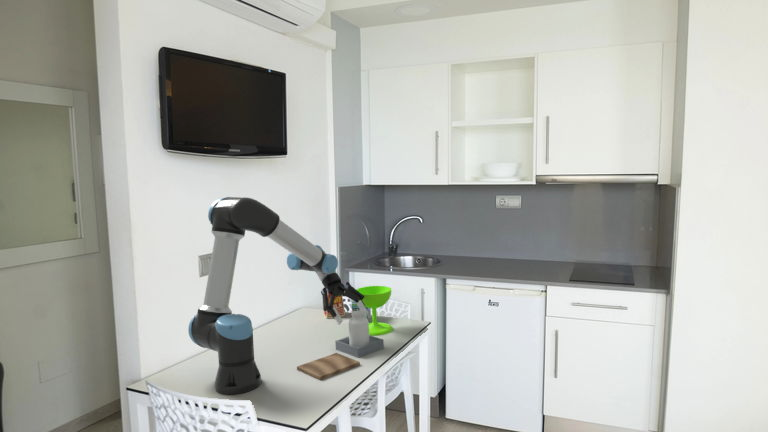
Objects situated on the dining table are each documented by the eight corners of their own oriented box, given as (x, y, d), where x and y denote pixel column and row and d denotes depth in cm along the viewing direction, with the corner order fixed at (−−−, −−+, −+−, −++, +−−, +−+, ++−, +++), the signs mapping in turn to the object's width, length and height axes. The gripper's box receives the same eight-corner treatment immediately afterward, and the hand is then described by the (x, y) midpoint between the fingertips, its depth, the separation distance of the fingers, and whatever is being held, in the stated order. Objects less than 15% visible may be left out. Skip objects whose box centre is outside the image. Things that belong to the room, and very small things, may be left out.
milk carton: (323, 314, 257) (321, 274, 255) (341, 312, 259) (339, 272, 257) (327, 319, 248) (324, 278, 246) (345, 316, 251) (343, 276, 249)
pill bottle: (372, 350, 204) (370, 313, 202) (353, 353, 201) (351, 316, 199) (365, 344, 211) (364, 308, 210) (347, 347, 208) (345, 311, 207)
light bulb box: (366, 323, 239) (365, 300, 238) (352, 323, 240) (350, 300, 239) (371, 316, 249) (370, 294, 248) (357, 316, 251) (356, 294, 250)
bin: (357, 357, 196) (357, 348, 196) (335, 349, 206) (335, 340, 206) (383, 347, 206) (383, 339, 205) (361, 340, 216) (361, 332, 215)
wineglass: (397, 325, 234) (395, 286, 232) (386, 336, 219) (385, 295, 217) (364, 323, 239) (362, 285, 237) (351, 334, 224) (349, 293, 222)
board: (319, 380, 177) (319, 376, 177) (297, 369, 187) (296, 366, 187) (359, 364, 189) (359, 361, 189) (336, 355, 199) (336, 352, 199)
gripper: (348, 277, 229) (372, 316, 220) (301, 288, 212) (325, 331, 203) (355, 266, 224) (380, 306, 215) (308, 277, 207) (333, 321, 198)
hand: (353, 318), depth 209 cm, fingers open, 13 cm apart
